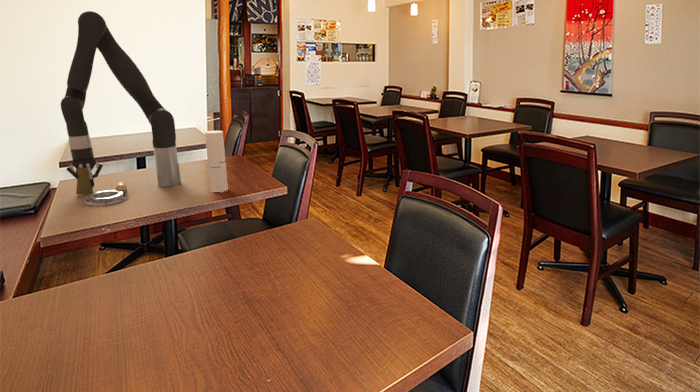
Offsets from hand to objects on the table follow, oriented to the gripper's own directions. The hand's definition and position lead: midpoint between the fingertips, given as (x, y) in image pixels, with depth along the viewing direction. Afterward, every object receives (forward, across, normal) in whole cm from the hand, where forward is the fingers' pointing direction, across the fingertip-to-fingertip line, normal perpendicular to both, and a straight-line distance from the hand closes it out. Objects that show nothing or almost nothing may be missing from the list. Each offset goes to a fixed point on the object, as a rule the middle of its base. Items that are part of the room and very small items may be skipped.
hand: (89, 187), depth 179 cm
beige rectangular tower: (+4, -49, +18) cm, 52 cm away
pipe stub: (+3, -12, +3) cm, 12 cm away
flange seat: (+3, -6, +12) cm, 14 cm away
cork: (+2, +2, 0) cm, 3 cm away
